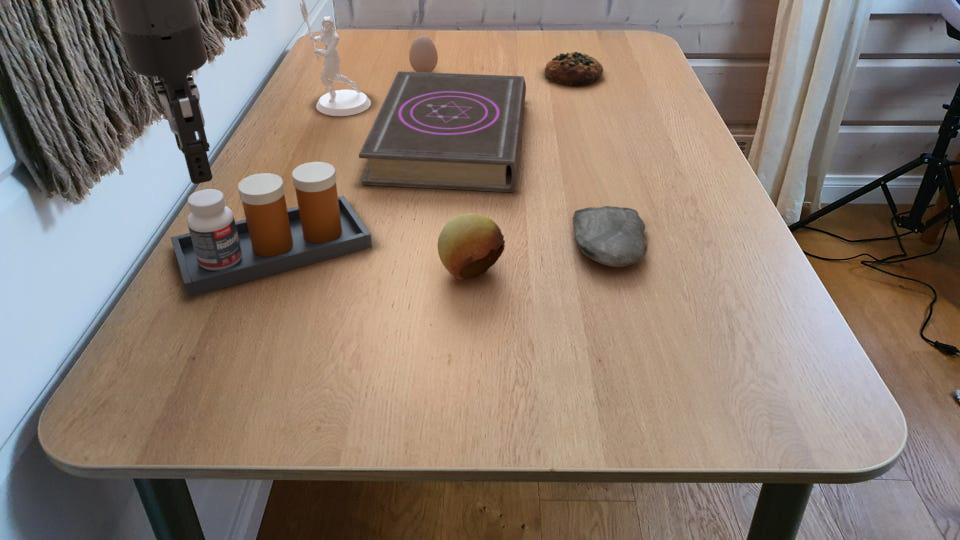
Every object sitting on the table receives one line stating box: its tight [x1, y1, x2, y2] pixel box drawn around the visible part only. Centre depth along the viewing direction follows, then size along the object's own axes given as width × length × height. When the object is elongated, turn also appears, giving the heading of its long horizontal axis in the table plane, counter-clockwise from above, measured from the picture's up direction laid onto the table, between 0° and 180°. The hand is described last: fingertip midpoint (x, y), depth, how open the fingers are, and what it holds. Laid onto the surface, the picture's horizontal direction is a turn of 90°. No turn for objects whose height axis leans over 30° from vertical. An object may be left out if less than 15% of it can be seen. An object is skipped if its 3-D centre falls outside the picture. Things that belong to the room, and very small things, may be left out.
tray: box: [170, 195, 373, 298], centre depth 93 cm, size 23×11×2 cm, turn 117°
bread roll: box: [544, 51, 604, 87], centre depth 138 cm, size 11×11×5 cm
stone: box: [572, 205, 648, 268], centre depth 93 cm, size 13×9×3 cm
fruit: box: [437, 212, 506, 281], centre depth 87 cm, size 8×8×8 cm
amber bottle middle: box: [237, 172, 293, 257], centre depth 90 cm, size 5×5×9 cm
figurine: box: [299, 0, 372, 117], centre depth 123 cm, size 10×10×18 cm
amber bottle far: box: [291, 161, 342, 243], centre depth 93 cm, size 5×5×9 cm
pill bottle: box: [186, 188, 242, 271], centre depth 88 cm, size 5×5×9 cm
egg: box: [408, 34, 439, 73], centre depth 137 cm, size 5×5×7 cm
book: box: [358, 70, 527, 193], centre depth 116 cm, size 30×22×5 cm
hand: (195, 164), depth 83 cm, fingers open, 8 cm apart
